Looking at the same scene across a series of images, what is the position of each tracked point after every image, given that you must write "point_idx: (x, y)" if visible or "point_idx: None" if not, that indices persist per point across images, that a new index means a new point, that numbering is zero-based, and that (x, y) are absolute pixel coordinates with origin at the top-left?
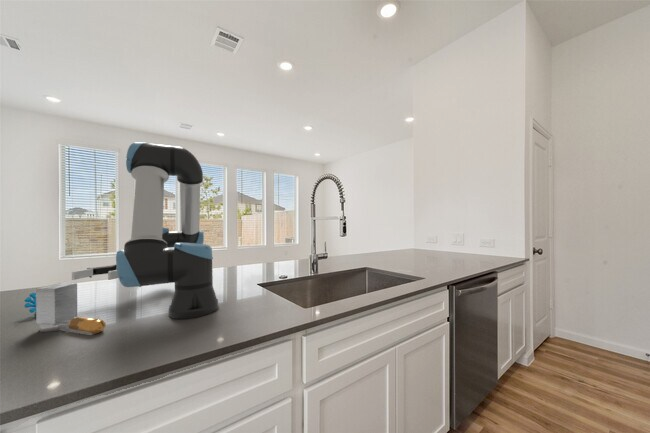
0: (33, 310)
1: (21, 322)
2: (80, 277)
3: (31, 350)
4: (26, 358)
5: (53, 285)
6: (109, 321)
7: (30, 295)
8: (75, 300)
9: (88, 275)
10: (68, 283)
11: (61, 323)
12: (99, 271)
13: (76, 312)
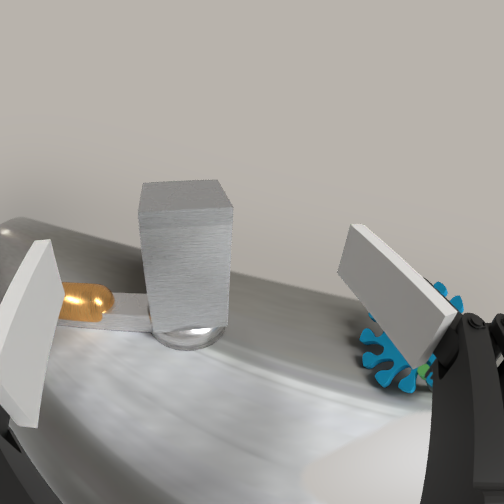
0: (370, 314)
1: (349, 316)
2: (361, 293)
3: (104, 257)
4: (84, 246)
5: (204, 193)
6: (57, 371)
7: (434, 285)
8: (146, 277)
9: (396, 332)
10: (178, 207)
11: (141, 294)
12: (449, 390)
13: (151, 318)
